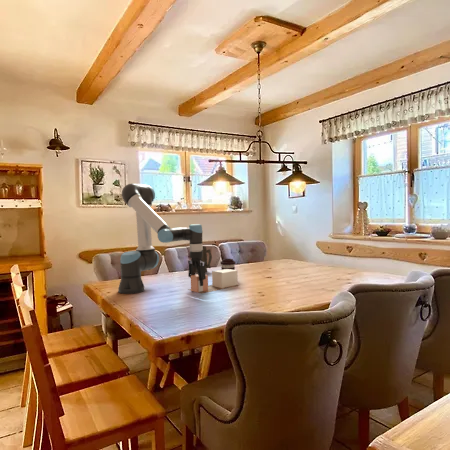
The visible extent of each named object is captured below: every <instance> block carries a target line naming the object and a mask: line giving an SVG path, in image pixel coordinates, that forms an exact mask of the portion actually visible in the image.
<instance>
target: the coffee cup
mask: <svg viewBox="0 0 450 450" xmlns="http://www.w3.org/2000/svg"><path fill="white" fill-rule="evenodd" d="M220 265H221V269H220V270H224V269H232V270H236V267H235V266H236V261H235V260H234V259H233V258H222V261H220Z"/></svg>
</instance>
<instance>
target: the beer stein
mask: <svg viewBox="0 0 450 450" xmlns="http://www.w3.org/2000/svg"><path fill="white" fill-rule="evenodd" d="M202 252H203V257H202V258H201V259H202V262H205V273H207V272H208V269H211V268H212V267H211V262H212V259H213V257H212V252H211V249H210V248H209V249H207V247H206V246H205V245H204V246H203V250H202ZM207 253H208V254H207ZM195 274H198V272H197V269H196V273H195Z"/></svg>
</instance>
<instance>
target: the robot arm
mask: <svg viewBox="0 0 450 450" xmlns="http://www.w3.org/2000/svg"><path fill="white" fill-rule="evenodd" d="M155 197H156V192H155V190H154V188H153V187H152V186H150V185H149V184H145V183H143V184H142V183H128V184H126V185H125V186H123V188H122V190H121V198H122V200H123V201H124V204H126V205H127V206H128V207H129V208H132V209H133V210H134V211H135V216H136V217H135V218H136V231H137V232H136V233H137V247H136V249H135V250H130V251H125V252H123V253H121V255H120V261H119V263H120V281H119V284H118V289H117V291H118V293H120V294H123V293H124V294H123V295H125V294H126V295H127V294H128V295H129V294H130V295H131V293H132V294H137V293H142V292H144V291H145V285H144V282H143V279H142V272H145V271H150V270H153V269H155V268H156V267H157V266H158V264H159V262H160V255H159V254H158V252H157V251H156V248H155V247H154V246H153V240H152V239H153V238H152V236H153V235H152V230H153V231H154V232H155V233H156V234H157V238H158V241H159V242H160V243H163V244H164V243H165V244H166V243H167V244H168V243H172V242H180V241H188V242H189V258H190V260H187V262H188V271H187V272H188V273H187V274H188V278H189V279H191V275H196V274H198V276H199V280H198V292H201V291H203V280H204V279H206V275H205V274H206V272H205V262H202V259H201V258H202V257H203V252H202V250H203V225H202V224H200V223H194V224H189V226H188V227H178V226H177V227H173V228H171V227H170V226H169V225H168V224H167V223H166V222H165V221H164V220H163V219H162V218H161V216H159V215H158V214H157V213H156V212H155V211H154V210H153V209H152V208H151V207H152V206H153V202H154V200H155V199H156V198H155ZM196 269H197V272H198V273H196ZM198 292H197V293H198Z"/></svg>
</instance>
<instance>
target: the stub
mask: <svg viewBox="0 0 450 450" xmlns="http://www.w3.org/2000/svg"><path fill="white" fill-rule="evenodd" d="M190 275H191V274H190ZM205 275H206V279H204V280H203V291H206V290H208V286H209V274H206V273H205ZM198 280H199V276H198V273H195V275H191V278H190V289H191V292H195V293H198ZM201 292H202V291H201Z"/></svg>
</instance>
